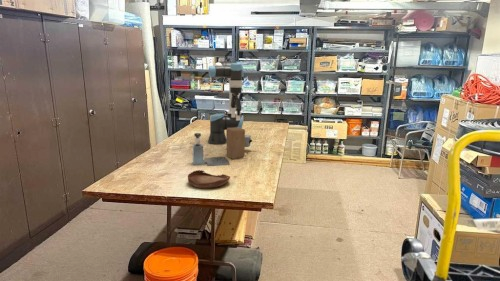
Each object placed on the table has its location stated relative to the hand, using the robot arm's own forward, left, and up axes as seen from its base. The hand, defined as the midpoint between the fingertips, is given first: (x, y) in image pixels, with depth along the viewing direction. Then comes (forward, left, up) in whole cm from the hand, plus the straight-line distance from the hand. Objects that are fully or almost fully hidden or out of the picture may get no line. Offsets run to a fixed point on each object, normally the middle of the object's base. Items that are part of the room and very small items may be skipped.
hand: (235, 118), depth 228 cm
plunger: (+10, -27, -17) cm, 33 cm away
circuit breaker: (-16, +9, -27) cm, 33 cm away
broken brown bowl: (+48, -26, -27) cm, 61 cm away
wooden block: (0, 0, -27) cm, 27 cm away
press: (+10, -19, -27) cm, 34 cm away
